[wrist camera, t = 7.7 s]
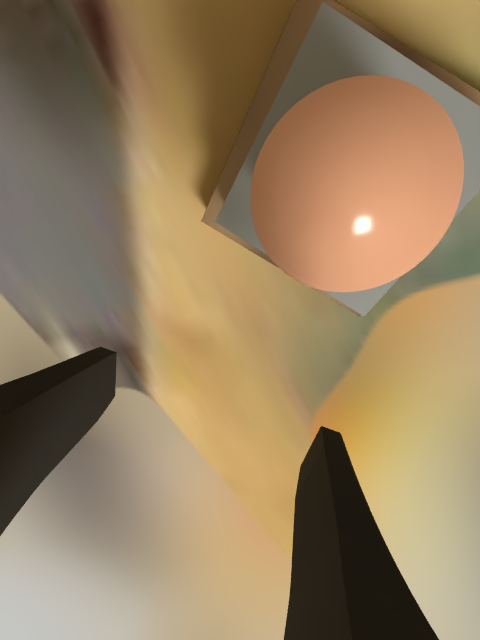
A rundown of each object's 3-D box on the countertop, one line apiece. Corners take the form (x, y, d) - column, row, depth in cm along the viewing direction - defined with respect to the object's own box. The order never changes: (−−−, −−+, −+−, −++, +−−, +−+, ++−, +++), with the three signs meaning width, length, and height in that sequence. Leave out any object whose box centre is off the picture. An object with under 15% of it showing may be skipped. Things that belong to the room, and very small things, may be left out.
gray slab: (492, 142, 12) (527, 138, 10) (359, 296, 16) (363, 316, 14) (323, 30, 12) (322, 1, 10) (230, 213, 16) (215, 221, 14)
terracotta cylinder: (447, 150, 11) (521, 144, 7) (359, 270, 13) (371, 322, 9) (321, 80, 11) (313, 29, 7) (257, 213, 13) (221, 238, 9)
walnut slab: (497, 127, 14) (528, 122, 12) (356, 298, 19) (359, 316, 17) (308, 10, 14) (304, -18, 12) (215, 214, 19) (201, 220, 17)
